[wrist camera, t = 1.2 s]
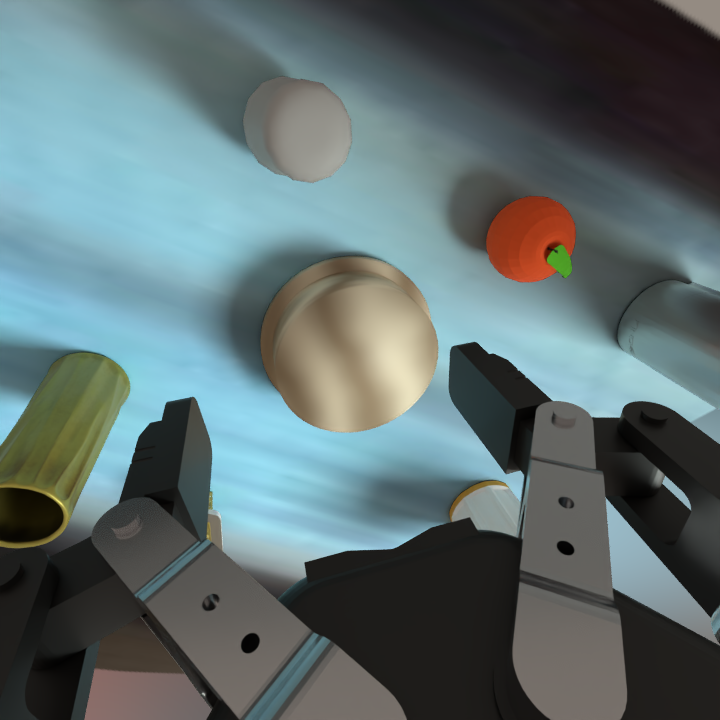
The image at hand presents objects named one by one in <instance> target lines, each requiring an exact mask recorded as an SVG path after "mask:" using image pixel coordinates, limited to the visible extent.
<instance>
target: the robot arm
mask: <svg viewBox="0 0 720 720" xmlns="http://www.w3.org/2000/svg"><path fill="white" fill-rule="evenodd" d="M618 342H619V345H620V347H621V348H622V350H624V351H625V352H626V353H628V354H630V355H631V356H633V357H634V358H636V359H638V360H639V361H641V362H643V363H644V364H646V365H647V366H649V367H651V368H652V369H654V370H655V371H657V372H658V373H660V374H662V375H663V376H665V377H667V378H668V379H670V380H671V381H673V382H675V383H676V384H678V385H680V386H681V387H683V388H684V389H686V390H688V391H689V392H691V393H693V394H694V395H696V396H697V397H699V398H701V399H702V400H704V401H706V402H707V403H709V404H710V405H712V406H714V407H715V408H717V409H719V410H720V292H719V291H716V290H713V289H711V288H708V287H705V286H702V285H700V284H697V283H694V282H693V283H690V284H686V283H683V282H680V281H676V280H668V281H663V282H660V283H657V284H655V285H653V286H651V287H649V288H648V289H647V290H645V291H644V292H642V293H641V294H640V295H639V296H638V297H637V298H636V299H635V300H634V301H633V302H632V303H631V305H630V306H629V307H628V308H627V310H626V312H625V313H624V315H623V317H622V319H621V322H620V324H619V329H618ZM449 393H450V397H451V400H452V402H453V404H454V405H455V406H456V408H457V409H458V410H459V412H460V413H461V415H462V416H463V417H464V419H465V420H466V421H467V423H468V424H469V425H470V427H471V428H472V429H473V431H474V432H475V433H476V435H477V436H478V437H479V439H480V440H481V441H482V443H483V444H484V445H485V447H486V448H487V449H488V451H489V452H490V453H491V455H492V456H493V457H494V459H495V460H496V461H497V463H498V464H499V465H500V467H501V468H502V469H503V471H504V472H505V473H506V474H509V473H513V472H516V471H520V470H521V472H522V473H523V474H524V479H523V486H522V494H521V502H520V510H519V517H518V525H517V533H516V537H515V536H512V535H509V534H506V533H502V532H497V531H492V530H477V529H476V527H475V525H474V523H473V522H472V520H471V518H470V517H468V518H465V519H461V520H457V521H454V522H450V523H447V524H443V525H439V526H436V527H432V528H430V529H428V530H426V531H425V532H423V533H421V534H420V535H418V536H416V537H414V538H413V539H411V540H409V541H407V542H406V543H404V544H402V545H400V546H399V547H397V548H394V549H387V550H357V551H345V552H341V553H338V554H334V555H330V556H327V557H323V558H319V559H316V560H312V561H309V562H305V569H306V576H307V577H305V578H304V579H302V580H300V581H298V582H297V583H296V584H294V585H293V586H292V587H290V588H289V589H288V590H287V591H286V592H285V593H283V594H282V595H281V596H280V597H279V598H278V599H276V598H274V597H273V596H272V595H271V594H270V593H269V592H268V591H267V590H265V589H264V588H263V587H262V586H261V585H260V584H259V583H258V582H256V581H255V580H254V579H253V578H252V577H251V576H250V575H249V574H247V573H246V572H245V571H244V570H243V569H242V568H241V567H240V566H239V565H237V564H236V563H235V562H234V561H233V560H232V559H231V558H230V557H228V556H227V555H226V554H225V553H224V552H223V551H222V550H221V549H219V548H218V547H217V546H216V545H215V544H214V543H213V542H211V541H210V540H208V539H206V536H207V522H208V508H209V494H210V480H211V466H212V448H211V442H210V438H209V435H208V432H207V429H206V426H205V423H204V421H203V418H202V415H201V412H200V409H199V406H198V403H197V401H196V399H195V398H194V397H190V398H185V399H180V400H175V401H170V402H167V403H166V405H165V409H164V413H163V417H162V421H157V422H152V423H150V424H149V425H148V426H147V427H146V429H145V430H144V431H143V432H142V433H141V434H140V436H139V438H138V441H137V444H136V448H135V453H134V454H133V458H132V464H130V467H129V471H128V474H127V477H126V481H125V484H124V487H123V491H122V494H121V497H120V501H119V504H117V505H116V506H114V507H112V508H111V509H110V510H108V511H107V512H106V513H105V514H104V515H103V516H102V517H101V518H100V519H99V520H98V522H97V523H96V525H95V526H94V528H93V531H92V536H90V537H89V538H87V539H85V540H83V541H81V542H79V543H77V544H75V545H73V546H71V547H69V548H67V549H65V550H63V551H61V552H59V553H57V554H55V555H52V556H50V557H49V556H48V555H47V554H46V552H45V551H44V550H42V549H40V548H37V547H27V548H22V549H18V550H15V551H13V552H10V553H8V554H6V555H4V556H2V557H1V558H0V720H84V718H85V712H86V708H87V702H88V698H89V693H90V688H91V683H92V678H93V673H94V668H95V663H96V658H97V653H98V648H99V643H100V640H101V639H102V638H104V637H106V636H108V635H109V634H111V633H113V632H114V631H116V630H118V629H120V628H121V627H123V626H125V625H126V624H128V623H130V622H131V621H133V620H135V619H137V618H138V617H141V618H142V619H143V621H144V622H145V623H146V624H147V626H148V627H149V628H150V629H151V631H152V632H153V633H154V634H155V636H156V637H157V638H158V640H159V641H160V642H161V643H162V645H163V646H164V647H165V648H166V650H167V651H168V652H169V654H170V655H171V656H172V657H173V659H174V660H175V661H176V662H177V664H178V665H179V666H180V668H181V669H182V670H183V672H184V673H185V674H186V676H187V677H188V679H189V680H190V681H191V683H192V684H193V686H194V687H195V688H196V690H197V691H198V693H199V694H200V695H201V697H202V698H203V699H204V700H205V702H206V703H207V704H208V706H209V707H210V708H211V709H212V711H211V713H210V714H209V716H208V718H207V720H720V646H719V645H717V644H716V643H714V642H712V641H710V640H708V639H706V638H705V637H703V636H701V635H699V634H697V633H695V632H693V631H691V630H690V629H687V628H686V627H684V626H682V625H680V624H679V623H677V622H675V621H673V620H671V619H669V618H667V617H666V616H664V615H662V614H660V613H658V612H656V611H654V610H652V609H651V608H649V607H647V606H645V605H643V604H641V603H639V602H638V601H636V600H634V599H632V598H630V597H628V596H627V595H625V594H623V593H621V592H619V591H617V590H615V589H614V588H612V577H611V576H612V575H611V563H610V550H609V537H608V524H607V512H606V499H605V497H606V498H607V499H608V501H609V502H610V503H611V504H612V505H613V506H614V507H615V509H616V510H617V511H618V512H619V513H620V514H621V515H622V517H623V518H624V519H625V520H626V521H627V522H628V523H629V525H630V526H631V527H632V528H633V529H634V530H635V531H636V533H637V534H638V535H639V536H640V537H641V538H642V539H643V541H644V542H645V543H646V544H647V545H648V546H649V548H650V549H651V550H652V551H653V552H654V553H655V554H656V556H657V557H658V558H659V559H660V560H661V561H662V562H663V564H664V565H665V566H666V567H667V568H668V569H669V570H670V571H671V573H672V574H673V575H674V576H675V577H676V578H677V580H678V581H679V582H680V583H681V584H682V585H683V586H684V587H685V589H686V590H687V591H688V592H689V593H690V594H691V596H692V597H693V598H694V599H695V600H696V601H697V602H698V604H699V605H700V606H701V607H702V608H703V609H704V610H705V612H706V613H707V614H708V615H709V616H710V617H711V625H712V629H713V632H714V635H715V637H716V638H717V640H718V642H719V644H720V444H718V443H717V442H716V441H714V440H713V439H712V438H710V437H709V436H708V435H706V434H705V433H703V432H702V431H701V430H700V429H698V428H697V427H695V426H694V425H693V424H691V423H690V422H689V421H687V420H686V419H685V418H683V417H682V416H681V415H679V414H678V413H676V412H675V411H673V410H672V409H670V408H668V407H665V406H663V405H660V404H656V403H652V402H645V401H637V402H632V403H629V404H627V405H625V406H624V408H623V410H622V413H621V417H620V418H594V417H591V416H590V414H589V413H588V412H587V411H585V410H584V409H582V408H581V407H579V406H577V405H574V404H571V403H567V402H561V401H552V400H551V399H550V398H549V397H548V396H547V395H546V394H544V393H543V392H542V391H541V390H540V389H539V388H538V387H537V386H536V385H535V384H533V383H532V382H531V381H530V380H529V379H528V378H526V377H525V375H524V374H522V373H521V372H520V371H518V370H517V368H516V367H515V366H514V365H513V364H512V363H510V362H509V361H508V360H507V359H504V358H502V357H500V356H498V355H496V354H488V353H487V352H486V351H485V350H484V349H483V348H482V347H481V346H480V345H479V344H478V343H476V342H471V343H466V344H461V345H456V346H453V347H452V348H451V351H450V366H449ZM665 476H666V477H668V478H669V479H670V480H671V481H672V482H673V483H674V484H675V485H676V486H677V487H679V489H681V490H682V491H683V492H684V493H685V495H686V496H687V498H688V500H689V501H690V504H691V510H690V509H689V508H687V507H686V506H685V505H684V504H683V503H682V502H681V501H680V500H679V499H678V498H677V497H676V496H675V495H674V494H673V493H672V492H670V490H668V489H667V488H666V487H665V486H664V485H663V484H662V482H663V480H664V477H665Z"/></svg>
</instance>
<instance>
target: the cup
mask: <svg viewBox="0 0 720 720" xmlns="http://www.w3.org/2000/svg"><path fill="white" fill-rule="evenodd" d="M519 510H520V501H519V500H518V499H517V498H516V496H515V495H514V494H513V492H512V491H511V490H510V488H509V487H508V486H507V485H506V484H505V483H502V482H499V481H484V482H481V483H478V484H476V485H473V486H471V487H470V488H468V489H467V490H465V491H464V492H462V493H461V494H460V495H459V496H458V497H457V499H456V500H455V501H454V502H453V504H452V506H451V509H450V512H449V515H450V520H451V522H454V521H457V520H461V519H465V518H468V517H470V518H471V520H472V522H473V523H474V525H475V527H476V529H477V530H492V531H497V532H502V533H506V534H509V535H512V536H515V537H516V533H517V525H518V517H519Z"/></svg>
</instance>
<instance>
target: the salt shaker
mask: <svg viewBox="0 0 720 720" xmlns="http://www.w3.org/2000/svg"><path fill="white" fill-rule="evenodd" d="M243 126H244V131H245V137H246V142H247V145H248V146H249V148H250V150H251V151H252V153H253V154H254V156H255V158H256V159H257V161H258V163H260V164H261V165H263V166H264V167H266V168H267V169H269V170H270V171H272V172H274V173H275V174H279V175H285V176H288V177H290V178H291V179H293V180H297V181H303V182H309V183H314V182H316V181H319V180H322V179H325V178H327V177H330V176H332V175H333V174H334V173H335V172H336V171H337V170H338V169H339V168H340V167H341V166H342V165H343V164H344V163H345V161H346V158H347V155H348V152H349V149H350V146H351V143H352V133H351V119H350V117H349V115H348V113H347V111H346V109H345V107H344V105H343V103H342V101H341V99H340V98H339V97H338V96H337V95H336V94H334V93H333V92H332V91H331V90H330V89H329V88H327V87H326V86H325V85H324V84H323V83H319V82H314V81H309V80H304V79H300V80H299V79H294V78H289V77H285V76H280V77H277V78H274V79H271V80H268V81H265V82H262V83H261V85H260V86H259V87H258V88H257V89H256V90H255V92H254V93H253V94H252V95H251V96H250V97H249V98H248V102H247V106H246V110H245V114H244V118H243Z"/></svg>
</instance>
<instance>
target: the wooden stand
mask: <svg viewBox="0 0 720 720" xmlns="http://www.w3.org/2000/svg"><path fill="white" fill-rule="evenodd" d="M260 341H261V355H262V360H263V365H264V367H265V370H266V373H267V375H268V377H269V379H270V381H271V382H272V384H273V385H274V386H275V388H276V389H277V390H278V391H279V392H280V394H281V396H282V398H283V399H284V401H285V403H286V404H287V406H288V407H289V408H290V409H291V410H292V411H293V412H294V413H295V414H296V415H297V416H298V417H299V418H301V419H302V420H303V421H305V422H307V423H309V424H310V425H312V426H315V427H317V428H320V429H324V430H328V431H333V432H359V431H364V430H369V429H372V428H376V427H379V426H381V425H383V424H386V423H388V422H390V421H392V420H394V419H395V418H397V417H398V416H400V415H401V414H403V413H404V412H405V411H407V410H408V409H409V408H410V407H411V406H412V405H413V404H414V403H415V402H416V401H417V400H418V399H419V398H420V397H421V395H422V394H423V393H424V392H425V390H426V388H427V387H428V385H429V383H430V381H431V379H432V377H433V375H434V372H435V369H436V365H437V360H438V340H437V336H436V331H435V329H434V326H433V324H432V322H431V317H430V313H429V308H428V306H427V303H426V301H425V298H424V297H423V295H422V293H421V292H420V290H419V289H418V288H417V286H416V285H415V284H414V283H413V282H412V281H411V280H410V279H409V278H408V277H407V276H406V275H405V274H404V273H403V272H401V271H400V270H398V269H397V268H395V267H394V266H392V265H390V264H388V263H386V262H384V261H381V260H377V259H374V258H370V257H364V256H342V257H335V258H331V259H327V260H323V261H321V262H318V263H316V264H313V265H311V266H309V267H307V268H306V269H304V270H302V271H300V272H299V273H298V274H296V275H295V276H294V277H292V278H291V279H290V280H289V281H288V282H287V283H286V284H285V285H284V286H283V287H282V288H281V289H280V290H279V291H278V293H277V294H276V295H275V297H274V298H273V300H272V302H271V303H270V305H269V307H268V309H267V312H266V314H265V316H264V320H263V324H262V328H261V337H260Z"/></svg>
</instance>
